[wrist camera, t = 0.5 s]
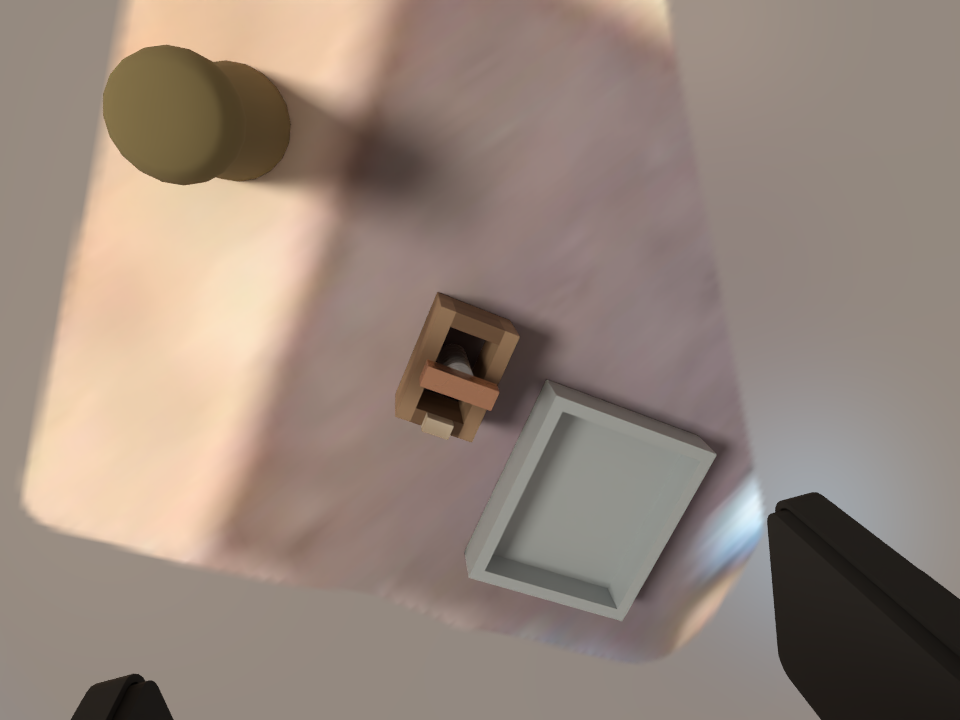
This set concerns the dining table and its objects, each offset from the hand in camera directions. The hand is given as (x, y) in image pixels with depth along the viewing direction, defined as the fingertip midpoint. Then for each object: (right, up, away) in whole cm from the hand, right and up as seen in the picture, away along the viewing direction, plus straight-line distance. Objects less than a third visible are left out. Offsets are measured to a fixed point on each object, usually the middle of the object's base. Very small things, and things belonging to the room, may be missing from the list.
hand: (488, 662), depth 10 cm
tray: (+7, -5, +35) cm, 36 cm away
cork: (-13, +17, +25) cm, 33 cm away
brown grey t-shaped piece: (-2, +5, +31) cm, 31 cm away
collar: (-2, +5, +31) cm, 31 cm away
